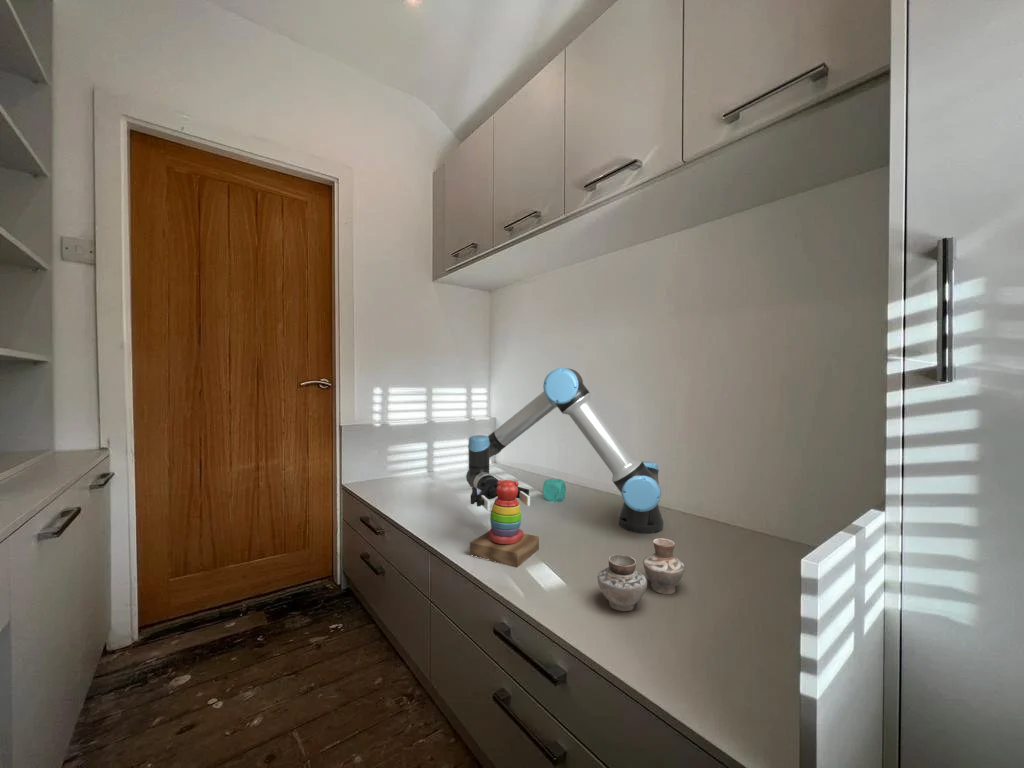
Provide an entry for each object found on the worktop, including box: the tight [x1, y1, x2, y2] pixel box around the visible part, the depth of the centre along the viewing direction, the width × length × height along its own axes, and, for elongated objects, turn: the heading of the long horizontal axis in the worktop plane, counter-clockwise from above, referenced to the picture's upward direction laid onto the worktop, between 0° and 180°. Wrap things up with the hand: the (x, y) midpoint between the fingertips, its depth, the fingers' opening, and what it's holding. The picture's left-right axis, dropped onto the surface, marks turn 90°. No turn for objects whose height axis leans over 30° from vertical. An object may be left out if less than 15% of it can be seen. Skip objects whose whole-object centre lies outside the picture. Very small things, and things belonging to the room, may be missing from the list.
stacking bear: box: [488, 479, 525, 544], centre depth 128 cm, size 11×10×18 cm
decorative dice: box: [542, 478, 567, 502], centre depth 183 cm, size 8×8×8 cm
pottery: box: [596, 537, 686, 612], centre depth 103 cm, size 11×25×12 cm, turn 121°
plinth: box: [469, 530, 540, 568], centre depth 128 cm, size 16×14×4 cm
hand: (509, 503), depth 125 cm, fingers open, 12 cm apart
